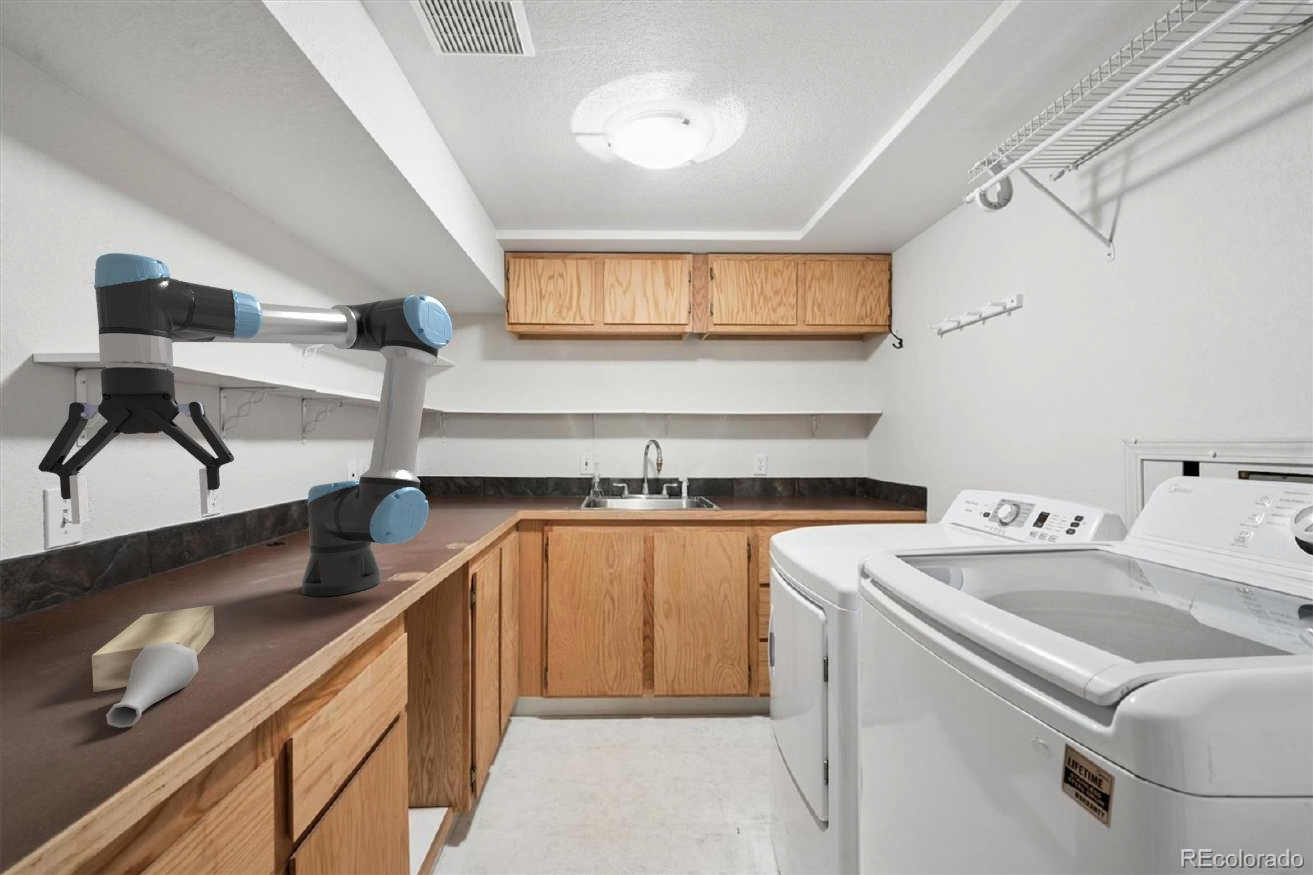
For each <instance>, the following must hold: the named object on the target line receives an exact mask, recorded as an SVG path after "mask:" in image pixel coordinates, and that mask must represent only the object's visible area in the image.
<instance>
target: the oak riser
mask: <svg viewBox="0 0 1313 875" xmlns="http://www.w3.org/2000/svg"><path fill="white" fill-rule="evenodd" d="M214 613H215V612H214V605H213V604H212V605H205V606H197V607H191V608H190V607H189V608H183V609H175V610H167V611H162V612H161V611H159V612H154V613H145V614H142V615H141V616H140V617H138V618H137V619H136V620H135V621H133V622H132V623H131V624H130V625H129V626H127V627H126V628H124V629H123V631H121V632H120V633H118V635H116V636H115V637H114V638H112V639H111V640H110V641H108V642H107V643H106V644H105V645H103V646H102V647H100V648H99V649H98V650H97V651H96V652H95V653H93V654H92V655H91V665H92V666H91V667H92V687H93V688H92V690H93V693H98V692H105V691H110V690H115V689H120V688H121V689H122V688H127V685H128V681H129V677H130V672H131V667H132V663H133V662H134V660H135V659H136V658H137V657H138V655H139V654H140V653H141V651H142V650H143V649H144V647H145V646H146V645H153V644H161V643H169V642H174V643H177V644H179V645H182V646H185V647H187V648H190V649H192V650H195V651H196V655H197V656H199V654H200V653H201V652H202V651H203V650H204V648H205V647H206V645H207V644H208V643H209V642H210V640H211V639H212V638H213V637H214V635H215V620H214V619H215V618H214Z"/></svg>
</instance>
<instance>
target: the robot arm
mask: <svg viewBox="0 0 1313 875" xmlns="http://www.w3.org/2000/svg"><path fill="white" fill-rule="evenodd" d="M93 287H94V290H95V299H96V301H95V302H96V312H97V321H98V322H97V324H98V347H99V348H98V350H99V363H100V364H101V365H104V366H106V367H104V368H102V369H101V370H100V384H101V386H100V387H101V397H102V399H101V402H100V403H99V404H91V403H89V404H88V403H87V402H78V401H74V402H72V403H70V404H69V408H68V416H67V417H68V418H67V420H66V421H65V423H64V425H63V426H62V427H61V429H60V431H59V433H58V434H57V436H56V437H55V439H54V441H53V442H52V443H51V445H50V447H49V448H48V450H47V452H46V453H45V454H44V457H43V458H42V459H41V462H40V463H39V465H38V470H39V471H41V472H43V473H50V474H56V475H57V476H58V477H59V484H60V496H61V498H62V500H70V507H71V510H70V511H71V522H72V525H81V524H84V523H86V522H89V521H90V509H89V495H88V494H89V493H88V492H89V491H88V490H89V489H88V477H87V474H86V473H84V474H80V471H81V470H82V469H83V468H84V467H85V466H86V465H87V464H88V463H90V461H91V460H93V459H94V458H95V457H96V456H97V455H98V453H100V452H101V451H102V450H103V449H104V448H105V447H106V446H108V445H109V443H111V441H113V440H114V439H115V438H117V437H118V436H120V434H123V435H138V434H159V433H161V432H163V433H164V434H165V435H167V436H168V437H170V438H171V439H172V440H173V441H175V443H177V444H178V445H180V447H182V448H183V449H184V450H186V452H187V453H189V454H190V455H191V456H192V457H194V458H195V459H196V460H197V461H199V462H200V463H201V464H202V465H203V466H204V468H200V469H198V475H199V494H200V510H201V512H200V513H201V515H203V514H210V513H212V512H213V510H214V508H213V494H212V492H213V491H214V490H215V491H216V490H219V488H220V485H221V481H220V479H221V478H220V468H221V467H222V466H223V465H226V464H229V463H232V462H234V460H235V456H234V455H233V453H232V452H231V451H230V449H229V448H228V446H227V445H226V443H225V442H224V441H223V439H222V437H221V436H220V435H219V433H218V432H217V431H216V429H215V428H214V426H213V424H212V423H211V421H210V420H209V419H208V417H207V415H206V410H205V405H204V403H202V402H201V401H191V402H189V403H178V402H177V400H176V388H175V387H176V386H175V373H174V372H173V371H172V370H169V368H171V367H173V366H174V354H173V343H231V344H232V343H235V344H236V343H237V344H238V343H239V344H241V343H242V344H243V343H245V344H246V343H247V344H292V345H293V344H294V345H295V344H301V345H311V344H312V345H333V346H334V347H335V348H337V349H339V350H357V351H358V350H359V351H367V352H378V353H380V354H381V356H383V357H384V359H385V360H386V361H385V368H384V372H383V380H382V385H381V393H380V399H379V405H378V406H379V407H378V411H377V412H378V414H377V419H376V425H375V431H374V439H373V444H372V451H371V458H370V464H369V469H368V470H366V471H365V472H363V473H362V474H361V475H360V476H359V479H351V480H345V481H338V482H337V481H336V482H332V483H331V482H330V483H323V484H316V485H314V486H312V487H311V488H310V489H309V490H308V497H307V503H306V505H307V508H308V509H307V510H308V529H309V530H308V532H309V534H308V535H309V558H308V561H307V564H306V568H305V571H304V574H303V577H302V579H301V593H302V594H303V595H306V596H310V597H331V596H339V595H345V594H346V595H347V594H350V593H351V594H352V593H356V592H360V591H363V590H367V589H370V588H373V587H375V586H377V585H378V584H381V581H382V570H381V568H380V566H379V564H378V561H377V559H376V556H375V554H374V551H373V549H372V543H376V544H380V545H392V544H393V545H395V544H396V545H398V544H403V543H404V544H405V543H407V542H409V541H410V540H412V539H413V538H415V536H417V535H418V534H419V533H420V532H421V531H422V529H423V528H424V526H425V525H426V523H427V519H428V517H429V511H430V510H429V501H428V499H426V497H427V496H426V495H425V493H424V492H422V490H420V485H421V480H420V479H419V477H417V475H416V474H415V467H416V460H417V453H418V445H419V438H420V434H421V433H420V432H421V425H422V417H423V411H424V402H425V398H426V397H425V396H426V395H425V394H426V387H427V382H428V376H429V375H428V373H429V368H430V367H431V366H433V365H434V364H436V363H437V362H438V357H439V356H438V355H439V350H440V349H442V348H444V347H446V346H447V344H449V343H450V341H451V340H452V337H453V324H452V321H451V318H450V317H451V316H450V315H449V314H448V312H447V309H446V308H445V307H444V305H443V304H442V303H441V302H440V301H439V300H437V299H436V298H435V297H432V296H430V295H424V294H421V295H417V294H416V295H413V294H412V295H411V294H410V295H408V296H406V297H400V298H399V297H398V298H391V299H384V300H377V301H376V300H375V301H371V302H365V303H360V304H348V305H347V304H335V305H333V306H331V307H330V308H328V307H327V308H325V307H312V306H300V305H286V304H274V303H261V302H259V300H258V299H257V298H256V297H254V296H253V295H251V294H249V293H244V292H241V291H237V290H234V289H228V288H222V287H215V286H209V285H204V284H198V283H193V282H187V281H183V280H179V279H176V278H171V273H170V272H169V266H168V265H167V264H166V263H165V262H163V261H161V260H158V259H155V258H153V257H149V256H144V255H139V254H133V253H132V254H131V253H125V252H124V253H123V252H122V253H121V252H118V253H117V252H116V253H115V252H113V253H112V252H111V253H106V254H102V255H100V256H98V257H97V259H96V261H95V268H94V285H93ZM181 412H182V413H184V415H185V417H187V418H191V420H192V422H193V423H194V425H195V426H196V428H197V430H199V432H200V433H201V435H202V436H203V438H204V439H205V441H206V442H207V443H208V445H209V446H210V448H211V449H212V451H213V452H214V453H215V455H216V457H214V455H212V454H211V453H210V452H209V451H208V450H206V449H205V448H204V447H203V446H202V445H200V444H199V443H198V441H196V440H195V439H193V438H192V437H191V436H190V435H189V434H187V433H186V432H185V431H184V430H183V428H181V426H179V425H178V424H177V423H176V422H174V420H175V418H176V417H177V416H178V415H179V414H180V413H181ZM98 413H99V415H101V417H103V418H104V419H105V420H106V423H104V425H102V426H101V427H100V428H99V429H98V430H97V432H96V433H95V434H94V435H93V436H92V437H91V438H90V439H89V440H88V441H86V442H85V444H84V445H83V446H82V447H80V448H79V449H78V450H77V451H76V452H75V453H74V454H73V455H72V456H71V457H70V458H69V459H67V457H68V455H69V454H70V452H71V450H72V449H73V447H74V445H75V444H76V442H77V441H78V439H79V437H80V436H81V434H82V432H83V431H84V429H85V428H86V426H87V425H88V422H89V420H90V419H91V420H92V419H94V417H95V416H96V414H98ZM66 459H67V461H66V462H65V460H66Z"/></svg>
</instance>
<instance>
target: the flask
mask: <svg viewBox="0 0 1313 875" xmlns="http://www.w3.org/2000/svg"><path fill="white" fill-rule="evenodd" d="M197 656H198V655H196V651H195V650H192V649H190V648H187V647H185V646H182V645H179V644H177V643H174V642H169V643H161V644H153V645H146V646H145V647H144V649H143V650H142V651H141V653H140V654H139V655H138V657H137V658H136V659H135V660H134V662H133V663H132V667H131V672H130V677H129V681H128V685H127V687H125V688H126V689H125V692H124V695H123V697H122V698H121V700H120V701H119V702H118V703H114V704H113V705H112V707H111V708H110V709H109V710H108V712H107V713H106V714H105V718H106V722H107V725H108V726H111V727H115V728H118V729H125V728H130V727H134V726H135V725H136V724H137V722H138V721H139V720H140V719H141V717H142V716H143V715H142V713H143V712H144V711H145V710H147V709H148V708H150V707H151V706H152V705H153V704H155V703H157V702H159V701H161V700H162V699H165V698H166V697H168V696H170V695H172V694H174V693H176V692H179V691H180V690H182V689H184V688H186V687H187V685H188V684H189V683H190V682H191V681H192V679H193V678H194V677H195V676H196V674H197V673H198V671H199V663H198V657H197Z"/></svg>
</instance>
